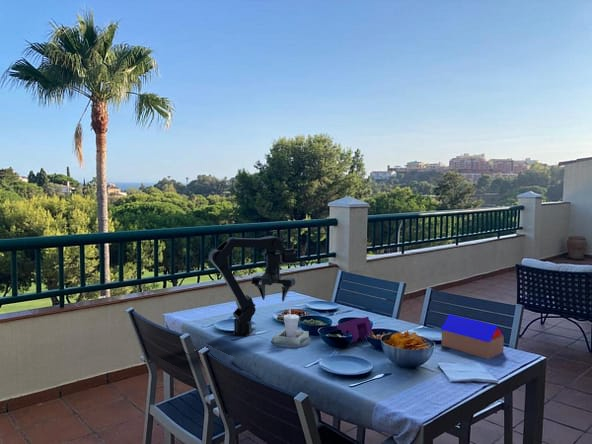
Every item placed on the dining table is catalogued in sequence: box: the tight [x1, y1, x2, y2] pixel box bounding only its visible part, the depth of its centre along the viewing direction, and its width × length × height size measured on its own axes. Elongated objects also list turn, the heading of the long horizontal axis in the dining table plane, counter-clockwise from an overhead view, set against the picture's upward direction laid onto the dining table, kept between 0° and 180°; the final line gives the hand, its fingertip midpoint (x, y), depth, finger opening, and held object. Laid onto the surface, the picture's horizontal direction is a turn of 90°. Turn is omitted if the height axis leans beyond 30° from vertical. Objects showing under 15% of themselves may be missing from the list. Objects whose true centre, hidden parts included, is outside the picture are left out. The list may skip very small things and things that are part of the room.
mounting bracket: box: [332, 316, 373, 344], centre depth 192 cm, size 9×8×18 cm
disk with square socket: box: [271, 328, 312, 349], centre depth 186 cm, size 16×16×3 cm
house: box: [440, 314, 506, 360], centre depth 178 cm, size 12×20×12 cm, turn 40°
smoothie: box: [283, 305, 300, 338], centre depth 186 cm, size 6×6×14 cm
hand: (273, 300), depth 201 cm, fingers open, 9 cm apart
